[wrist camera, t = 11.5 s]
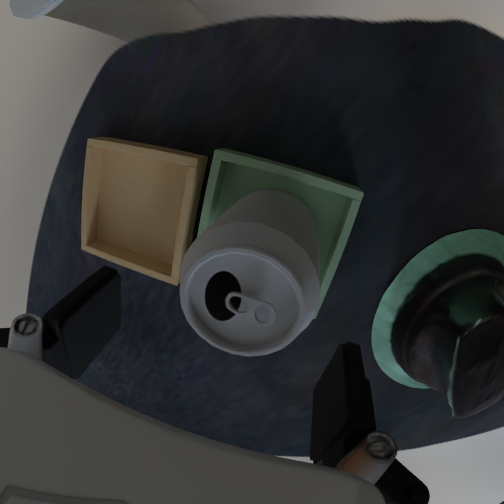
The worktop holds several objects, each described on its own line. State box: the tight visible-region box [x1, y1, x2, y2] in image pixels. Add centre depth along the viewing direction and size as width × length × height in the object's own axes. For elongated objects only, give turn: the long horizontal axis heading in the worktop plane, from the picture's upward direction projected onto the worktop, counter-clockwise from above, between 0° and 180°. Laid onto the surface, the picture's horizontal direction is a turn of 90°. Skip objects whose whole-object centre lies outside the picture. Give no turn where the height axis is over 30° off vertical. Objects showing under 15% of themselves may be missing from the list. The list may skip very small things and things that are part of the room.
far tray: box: [81, 137, 208, 286], centre depth 25 cm, size 11×11×2 cm
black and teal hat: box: [372, 229, 504, 419], centre depth 22 cm, size 15×19×20 cm
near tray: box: [197, 148, 364, 319], centre depth 24 cm, size 11×11×2 cm
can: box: [179, 189, 320, 356], centre depth 19 cm, size 8×8×12 cm
